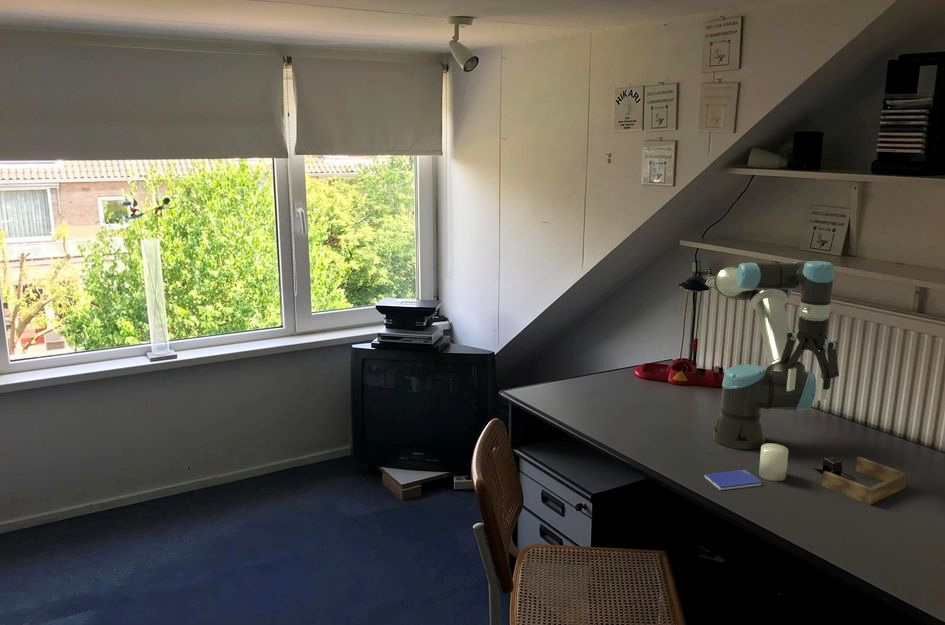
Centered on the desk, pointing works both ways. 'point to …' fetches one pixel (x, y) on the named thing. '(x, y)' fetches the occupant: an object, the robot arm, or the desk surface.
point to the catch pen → (889, 486)
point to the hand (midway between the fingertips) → (805, 394)
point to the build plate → (831, 467)
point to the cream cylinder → (773, 462)
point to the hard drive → (733, 479)
